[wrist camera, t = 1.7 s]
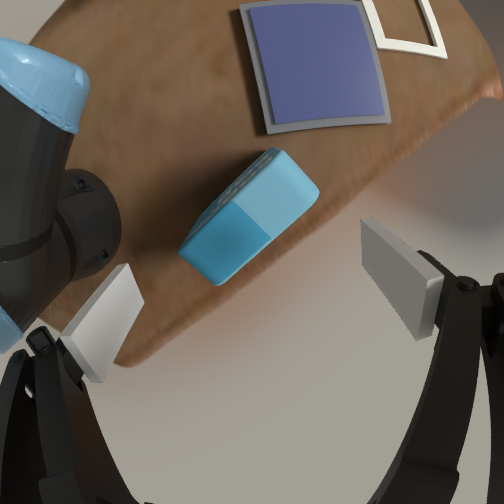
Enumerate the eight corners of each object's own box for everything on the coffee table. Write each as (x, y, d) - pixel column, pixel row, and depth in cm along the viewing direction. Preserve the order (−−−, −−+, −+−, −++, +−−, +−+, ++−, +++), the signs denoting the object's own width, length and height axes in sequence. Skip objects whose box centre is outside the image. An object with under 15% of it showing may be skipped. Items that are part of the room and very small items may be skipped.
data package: (271, 145, 29) (284, 149, 18) (298, 173, 30) (325, 195, 19) (198, 216, 32) (172, 258, 21) (225, 241, 34) (213, 293, 23)
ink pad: (267, 134, 29) (267, 134, 27) (239, 8, 22) (238, 3, 20) (387, 123, 27) (393, 122, 26) (357, 4, 21) (361, 0, 19)
